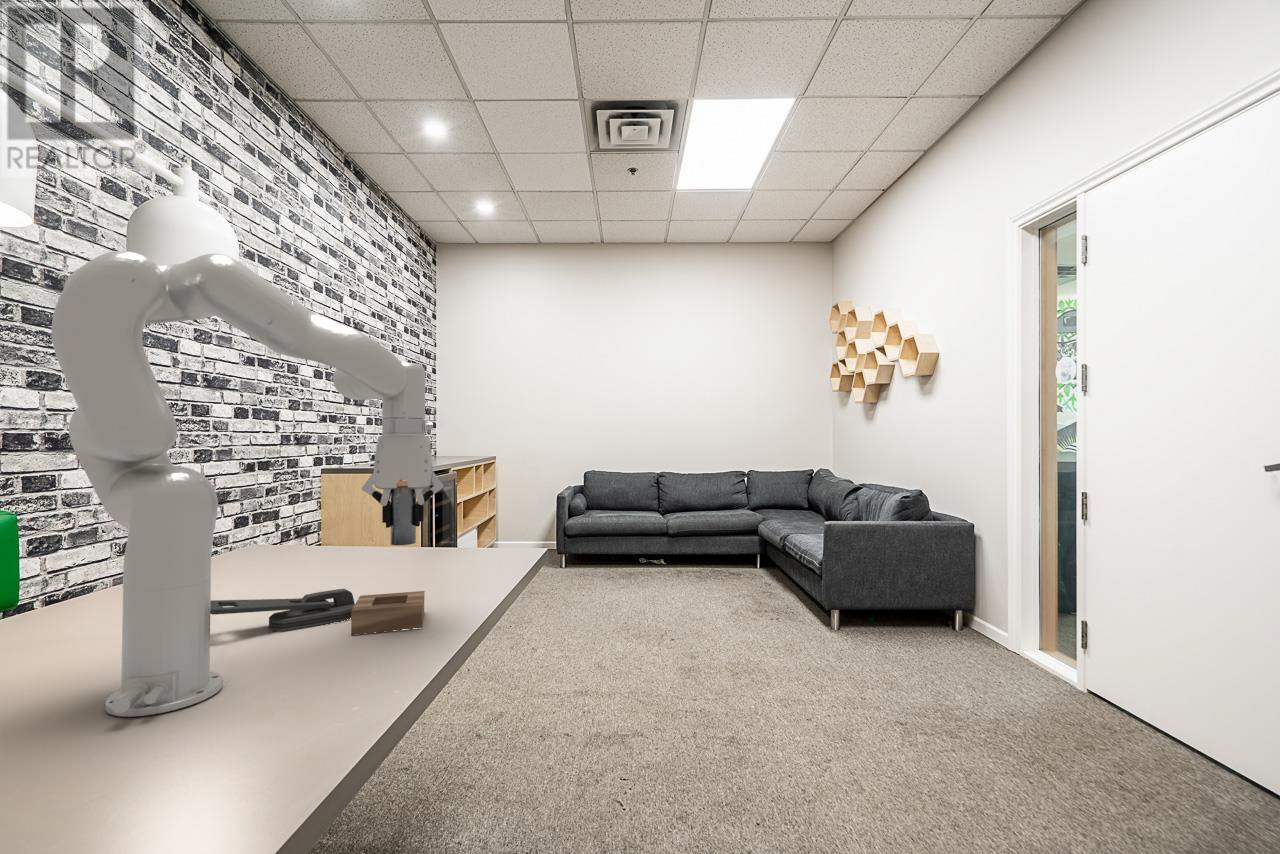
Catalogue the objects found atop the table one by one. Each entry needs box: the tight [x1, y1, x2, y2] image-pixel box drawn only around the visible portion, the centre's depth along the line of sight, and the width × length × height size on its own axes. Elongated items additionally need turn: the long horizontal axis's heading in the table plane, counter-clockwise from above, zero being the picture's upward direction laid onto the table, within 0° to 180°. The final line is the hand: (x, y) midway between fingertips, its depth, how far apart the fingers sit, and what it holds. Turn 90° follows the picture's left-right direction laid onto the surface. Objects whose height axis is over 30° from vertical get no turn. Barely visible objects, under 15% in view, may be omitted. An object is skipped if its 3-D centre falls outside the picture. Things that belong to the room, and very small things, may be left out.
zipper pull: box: [210, 588, 356, 633], centre depth 113 cm, size 9×7×25 cm
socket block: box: [350, 590, 425, 636], centre depth 115 cm, size 11×12×4 cm
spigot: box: [390, 480, 417, 546], centre depth 112 cm, size 5×5×12 cm
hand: (403, 525), depth 112 cm, fingers closed on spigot, 4 cm apart
